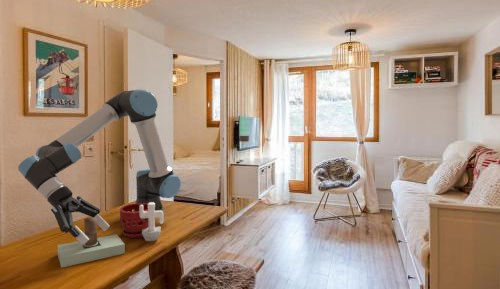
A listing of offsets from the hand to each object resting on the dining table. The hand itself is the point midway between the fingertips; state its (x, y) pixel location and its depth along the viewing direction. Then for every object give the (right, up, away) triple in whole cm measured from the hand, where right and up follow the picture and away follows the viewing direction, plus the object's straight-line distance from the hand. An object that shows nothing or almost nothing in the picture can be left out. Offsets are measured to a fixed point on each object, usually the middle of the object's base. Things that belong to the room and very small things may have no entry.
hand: (97, 235), depth 113 cm
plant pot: (+7, -6, +21) cm, 23 cm away
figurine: (+14, -6, +16) cm, 23 cm away
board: (-2, -7, +1) cm, 8 cm away
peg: (-2, -7, +1) cm, 8 cm away
